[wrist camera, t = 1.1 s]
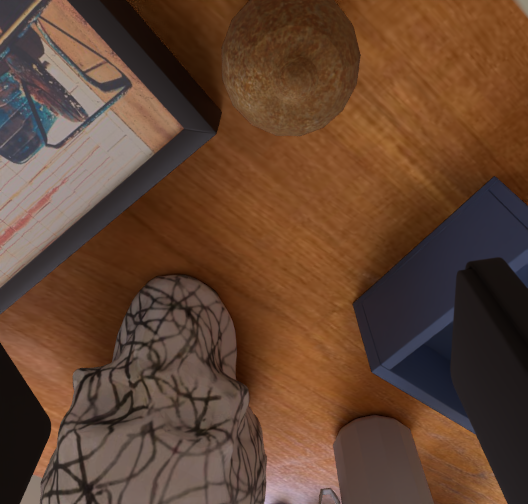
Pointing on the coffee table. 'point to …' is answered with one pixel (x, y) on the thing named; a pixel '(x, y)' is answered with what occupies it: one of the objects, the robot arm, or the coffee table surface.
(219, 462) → the sculpture
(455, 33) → the coffee table surface
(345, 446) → the water bottle
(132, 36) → the framed painting
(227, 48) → the fruit
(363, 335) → the blue bin
